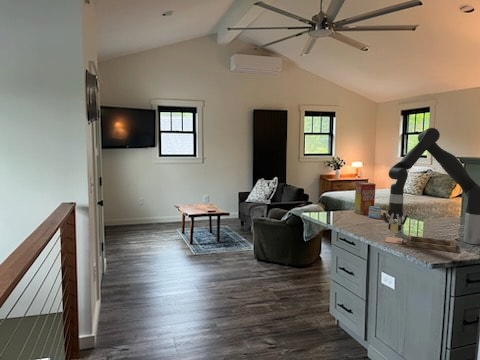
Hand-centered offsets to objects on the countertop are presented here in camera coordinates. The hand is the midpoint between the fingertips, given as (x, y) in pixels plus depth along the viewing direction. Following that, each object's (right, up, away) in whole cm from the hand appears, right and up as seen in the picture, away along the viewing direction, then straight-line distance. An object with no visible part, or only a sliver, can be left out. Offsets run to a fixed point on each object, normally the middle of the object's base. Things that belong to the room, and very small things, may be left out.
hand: (394, 230), depth 212 cm
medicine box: (+13, 0, +67) cm, 68 cm away
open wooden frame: (+17, -7, -8) cm, 20 cm away
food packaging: (+11, +2, +84) cm, 85 cm away
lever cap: (0, -1, 0) cm, 1 cm away
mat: (0, -6, 0) cm, 6 cm away
